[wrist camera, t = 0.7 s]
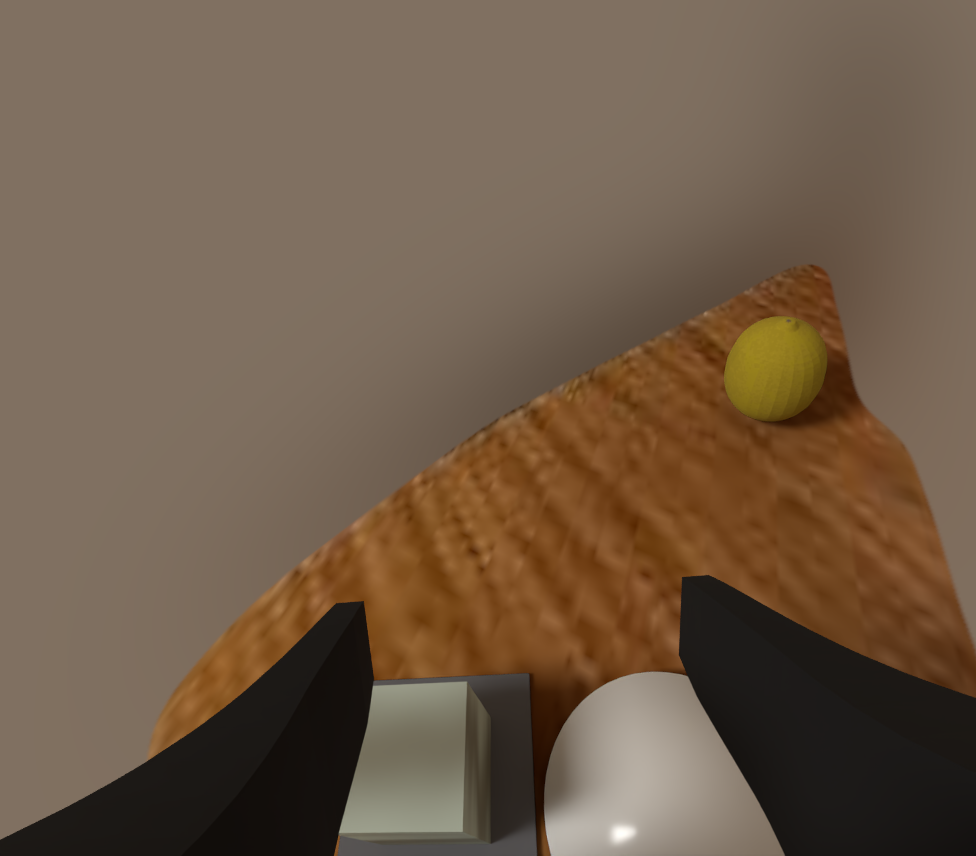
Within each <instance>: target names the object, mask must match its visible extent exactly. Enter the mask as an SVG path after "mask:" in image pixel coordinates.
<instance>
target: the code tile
mask: <svg viewBox="0 0 976 856" xmlns="http://www.w3.org/2000/svg"><path fill="white" fill-rule="evenodd" d="M446 682H468V684H469V685H470V687H471V688H472V690H473V691H474V693H475V694H476V696H477V697H478V699H479V700H480V702H481V703H482V705H483V706H484V708H485V709H486V711H487V712H488V714H489V715H490V717H491V844H409V845H380V844H376V843H371V842H367V841H363V840H358V839H354V838H349V837H345V836H340V843H339V850H338V856H537V839H536V816H535V793H534V770H533V747H532V724H531V702H530V679H529V673H524V674H503V675H483V676H462V677H441V678H420V679H400V680H379V681H374V682H373V686H382V685H403V684H424V683H446Z"/></svg>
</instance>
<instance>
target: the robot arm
mask: <svg viewBox="0 0 976 856" xmlns="http://www.w3.org/2000/svg"><path fill="white" fill-rule="evenodd" d="M679 656H680V658H681V661H682V663H683V666H684V668H685V671H686V673H687V675H688V678H689V680H690V682H691V685H692V687H693V689H694V691H695V694H696V696H697V698H698V700H699V701H700V703H701V705H702V707H703V708H704V710H705V712H706V714H707V715H708V717H709V719H710V720H711V722H712V724H713V726H714V727H715V729H716V731H717V732H718V734H719V736H720V738H721V739H722V741H723V743H724V744H725V746H726V748H727V749H728V751H729V753H730V754H731V756H732V758H733V760H734V761H735V763H736V765H737V766H738V768H739V770H740V771H741V773H742V775H743V776H744V778H745V780H746V781H747V783H748V785H749V787H750V788H751V790H752V792H753V793H754V795H755V797H756V799H757V801H758V802H759V804H760V806H761V808H762V810H763V812H764V813H765V815H766V817H767V819H768V821H769V823H770V825H771V827H772V829H773V831H774V834H775V836H776V838H777V840H778V842H779V844H780V846H781V848H782V850H783V853H784V855H785V856H976V698H974V697H971V696H968V695H965V694H962V693H959V692H957V691H954V690H951V689H948V688H945V687H942V686H939V685H937V684H934V683H931V682H928V681H925V680H922V679H920V678H917V677H915V676H912V675H909V674H907V673H904V672H901V671H899V670H897V669H894V668H892V667H889V666H887V665H885V664H882V663H880V662H878V661H875V660H873V659H870V658H868V657H866V656H863V655H861V654H859V653H857V652H854V651H852V650H850V649H848V648H846V647H844V646H841V645H839V644H837V643H835V642H833V641H831V640H829V639H827V638H825V637H823V636H821V635H819V634H817V633H815V632H813V631H811V630H809V629H807V628H805V627H803V626H802V625H800V624H798V623H796V622H794V621H792V620H790V619H788V618H787V617H785V616H783V615H781V614H779V613H778V612H776V611H774V610H772V609H770V608H769V607H767V606H765V605H763V604H761V603H760V602H758V601H756V600H754V599H753V598H751V597H749V596H747V595H745V594H744V593H742V592H740V591H738V590H737V589H735V588H733V587H731V586H729V585H728V584H726V583H724V582H722V581H720V580H718V579H716V578H714V577H712V576H709V575H705V576H691V577H682V594H681V618H680V642H679ZM373 682H374V676H373V668H372V661H371V653H370V645H369V638H368V630H367V623H366V615H365V608H364V601H361V602H347V603H336V604H335V605H334V606H333V607H332V608H331V609H330V610H329V611H328V612H327V613H326V614H325V615H324V616H323V617H322V618H321V619H320V620H319V621H318V622H317V623H316V624H315V625H314V626H313V627H312V628H311V629H310V630H309V631H308V632H307V633H306V635H305V636H303V637H302V638H301V639H300V640H299V641H298V642H297V643H296V644H295V645H294V646H293V647H292V648H291V649H290V650H289V651H288V652H287V653H286V654H285V655H284V656H283V657H282V658H281V659H280V660H279V661H278V662H277V663H276V664H275V665H273V666H272V667H271V668H270V669H269V670H268V671H267V672H266V673H265V674H263V675H262V676H261V677H260V678H259V679H258V680H257V681H256V682H255V683H253V684H252V685H251V686H250V687H249V688H248V689H247V690H246V691H244V692H243V693H242V694H241V695H240V696H238V697H237V698H236V699H235V700H233V701H232V702H231V703H230V704H228V705H227V706H226V707H225V708H223V709H222V710H221V711H219V712H218V713H217V714H215V715H214V716H213V717H211V718H210V719H209V720H207V721H206V722H205V723H203V724H202V725H201V726H199V727H198V728H196V729H195V730H194V731H192V732H191V733H189V734H188V735H186V736H185V737H183V738H182V739H180V740H179V741H177V742H176V743H174V744H173V745H171V746H170V747H168V748H167V749H165V750H163V751H162V752H160V753H159V754H157V755H156V756H154V757H153V758H151V759H150V760H148V761H147V762H145V763H144V764H142V765H141V766H139V767H137V768H135V769H134V770H132V771H130V772H129V773H127V774H125V775H124V776H122V777H121V778H118V779H117V780H115V781H113V782H112V783H110V784H108V785H107V786H105V787H103V788H101V789H99V790H97V791H96V792H94V793H92V794H90V795H88V796H86V797H85V798H83V799H81V800H79V801H77V802H76V803H73V804H72V805H70V806H68V807H66V808H64V809H62V810H60V811H58V812H56V813H54V814H52V815H50V816H48V817H46V818H44V819H42V820H40V821H38V822H36V823H34V824H31V825H30V826H27V827H25V828H23V829H21V830H19V831H17V832H15V833H13V834H11V835H9V836H7V837H5V838H3V839H1V840H0V856H334V853H335V848H336V844H337V839H338V835H339V831H340V827H341V823H342V819H343V816H344V812H345V808H346V804H347V801H348V797H349V793H350V789H351V786H352V782H353V778H354V775H355V771H356V767H357V763H358V760H359V756H360V752H361V748H362V744H363V740H364V737H365V733H366V729H367V725H368V718H369V712H370V705H371V698H372V690H373Z"/></svg>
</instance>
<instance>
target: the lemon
mask: <svg viewBox="0 0 976 856" xmlns="http://www.w3.org/2000/svg"><path fill="white" fill-rule="evenodd" d="M826 369H827V352H826V347H825V343H824V341H823V339H822V337H821V336H820V334H819V333H818V331H817V330H816V329H814V328H813V327H812V326H811V325H810V324H808V323H806V322H805V321H803V320H800V319H797V318H793V317H788V316H777V317H771V318H767V319H763V320H761V321H759V322H757V323H755V324H753V325H751V326H750V327H749V328H748V329H746V330H745V331H744V332H743V333H742V334H741V335H740V337H739V338H738V339H737V341H736V343H735V344H734V346H733V348H732V349H731V351H730V353H729V356H728V358H727V362H726V367H725V373H724V383H725V388H726V392H727V395H728V397H729V399H730V400H731V402H732V404H733V405H734V406H735V407H736V408H737V409H738V410H739V411H740V412H741V413H743V414H744V415H746V416H748V417H750V418H753V419H755V420H760V421H766V422H775V421H781V420H785V419H788V418H791V417H793V416H795V415H797V414H799V413H800V412H801V411H803V410H804V409H805V408H807V407H808V406H809V405H810V404H811V402H812V401H813V400H814V398H815V397H816V396H817V394H818V393H819V391H820V389H821V387H822V385H823V382H824V378H825V373H826Z"/></svg>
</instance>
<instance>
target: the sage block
mask: <svg viewBox="0 0 976 856" xmlns="http://www.w3.org/2000/svg"><path fill="white" fill-rule="evenodd" d="M339 835H340V836H345V837H349V838H354V839H358V840H363V841H367V842H371V843H376V844H380V845H409V844H491V717H490V715H489V714H488V712H487V711H486V709H485V708H484V706H483V705H482V703H481V702H480V700H479V699H478V697H477V696H476V694H475V693H474V691H473V690H472V688H471V687H470V685H469V684H468V682H446V683H424V684H403V685H382V686H373V690H372V698H371V705H370V712H369V718H368V725H367V729H366V733H365V737H364V740H363V744H362V748H361V752H360V756H359V760H358V763H357V767H356V771H355V775H354V778H353V782H352V786H351V789H350V793H349V797H348V801H347V804H346V808H345V812H344V816H343V819H342V823H341V827H340V831H339Z"/></svg>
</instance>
